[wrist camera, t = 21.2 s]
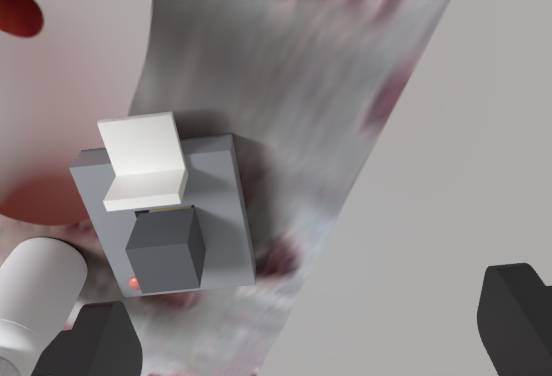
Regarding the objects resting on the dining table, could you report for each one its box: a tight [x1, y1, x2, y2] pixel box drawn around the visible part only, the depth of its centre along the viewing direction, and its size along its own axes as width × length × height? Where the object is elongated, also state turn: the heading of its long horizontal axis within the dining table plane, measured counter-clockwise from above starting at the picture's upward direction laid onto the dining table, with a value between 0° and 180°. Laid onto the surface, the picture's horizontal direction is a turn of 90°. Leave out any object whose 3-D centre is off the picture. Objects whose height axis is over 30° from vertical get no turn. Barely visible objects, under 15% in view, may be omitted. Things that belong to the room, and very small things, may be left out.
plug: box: [125, 205, 206, 294], centre depth 42 cm, size 5×5×8 cm
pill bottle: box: [0, 237, 87, 376], centre depth 43 cm, size 8×8×15 cm
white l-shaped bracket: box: [97, 112, 188, 212], centre depth 36 cm, size 6×6×4 cm
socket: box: [69, 133, 256, 298], centre depth 44 cm, size 14×16×4 cm
